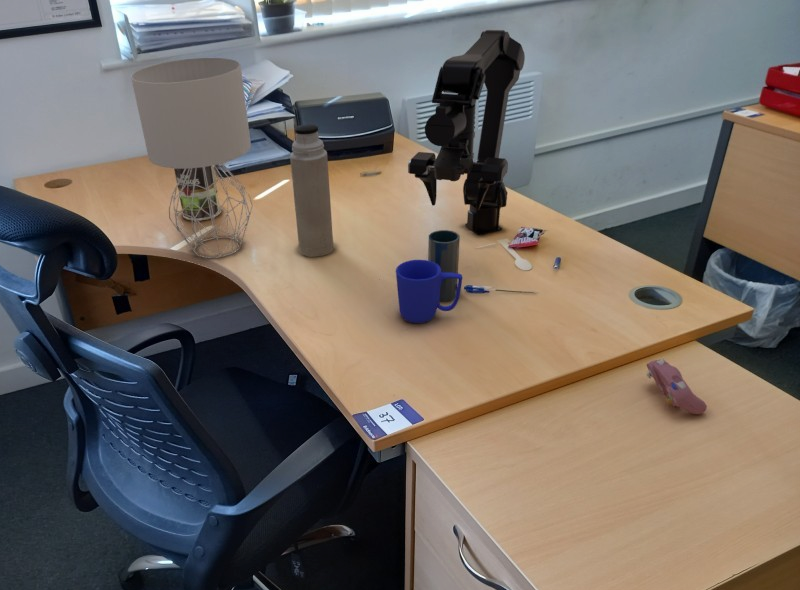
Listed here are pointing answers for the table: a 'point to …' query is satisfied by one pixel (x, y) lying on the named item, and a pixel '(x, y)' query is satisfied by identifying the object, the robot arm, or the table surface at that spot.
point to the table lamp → (195, 125)
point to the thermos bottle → (311, 192)
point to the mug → (422, 290)
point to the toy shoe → (675, 387)
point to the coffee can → (198, 192)
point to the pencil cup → (445, 259)
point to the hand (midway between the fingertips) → (455, 207)
